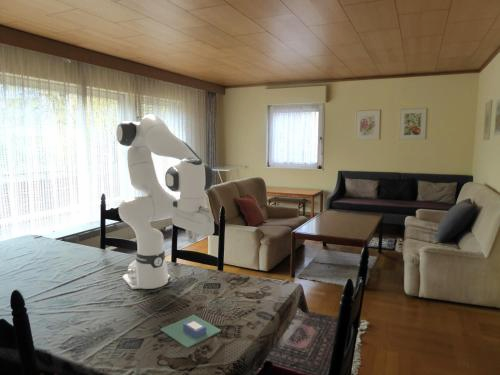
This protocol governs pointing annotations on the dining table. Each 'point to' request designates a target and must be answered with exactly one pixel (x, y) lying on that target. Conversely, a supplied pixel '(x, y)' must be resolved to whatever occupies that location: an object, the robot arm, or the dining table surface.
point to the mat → (185, 338)
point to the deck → (194, 328)
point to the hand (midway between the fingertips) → (192, 242)
